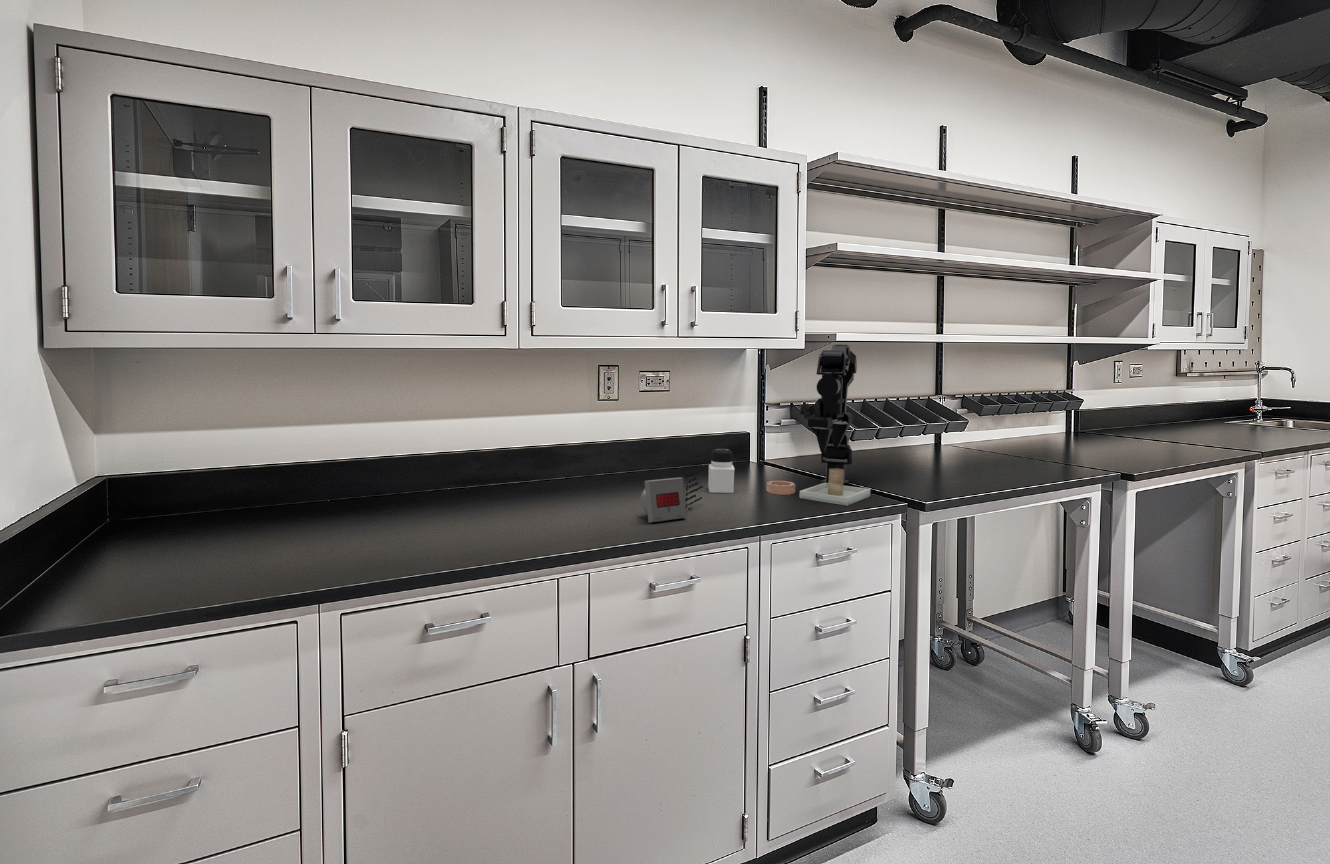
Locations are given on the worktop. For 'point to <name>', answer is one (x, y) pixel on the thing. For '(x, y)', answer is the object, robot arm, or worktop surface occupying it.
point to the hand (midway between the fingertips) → (829, 449)
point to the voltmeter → (667, 498)
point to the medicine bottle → (721, 472)
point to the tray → (822, 495)
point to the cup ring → (780, 487)
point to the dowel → (835, 482)
